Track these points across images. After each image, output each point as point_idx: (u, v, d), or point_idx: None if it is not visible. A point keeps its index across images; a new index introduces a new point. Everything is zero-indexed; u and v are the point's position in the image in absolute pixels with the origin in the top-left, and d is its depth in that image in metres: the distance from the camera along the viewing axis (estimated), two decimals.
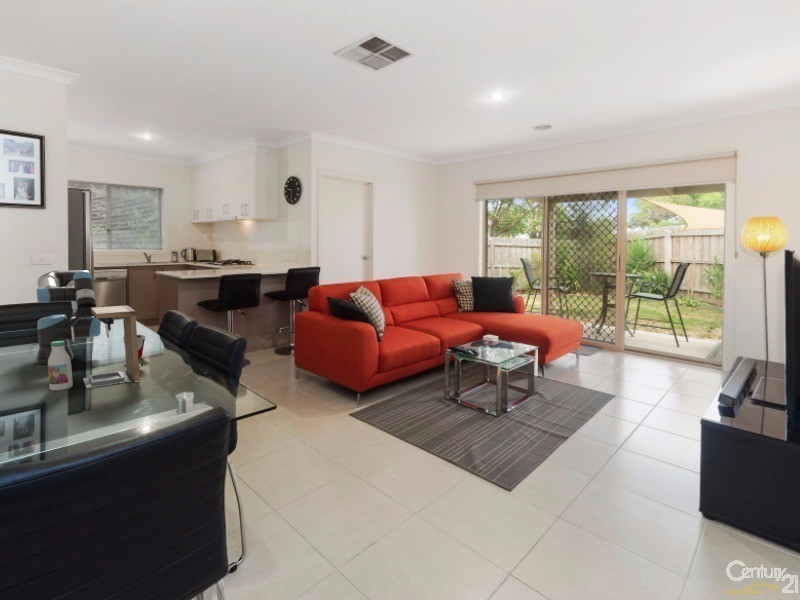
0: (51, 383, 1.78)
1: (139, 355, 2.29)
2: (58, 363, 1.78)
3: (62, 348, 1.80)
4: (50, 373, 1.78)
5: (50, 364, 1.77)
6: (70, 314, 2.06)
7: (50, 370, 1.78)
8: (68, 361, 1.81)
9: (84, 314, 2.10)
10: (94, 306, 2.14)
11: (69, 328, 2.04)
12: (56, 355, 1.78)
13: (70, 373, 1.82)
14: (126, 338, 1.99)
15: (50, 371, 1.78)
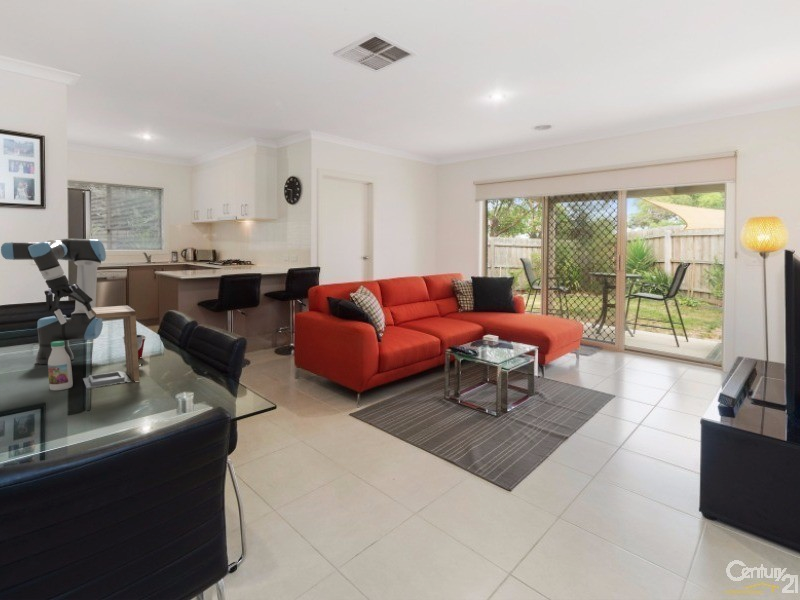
0: (51, 383, 1.78)
1: (139, 355, 2.29)
2: (58, 363, 1.78)
3: (62, 348, 1.80)
4: (50, 373, 1.78)
5: (50, 364, 1.77)
6: (47, 298, 1.91)
7: (50, 370, 1.78)
8: (68, 361, 1.81)
9: (59, 296, 1.91)
10: (64, 286, 1.89)
11: None
12: (56, 355, 1.78)
13: (70, 373, 1.82)
14: (126, 338, 1.99)
15: (50, 371, 1.78)
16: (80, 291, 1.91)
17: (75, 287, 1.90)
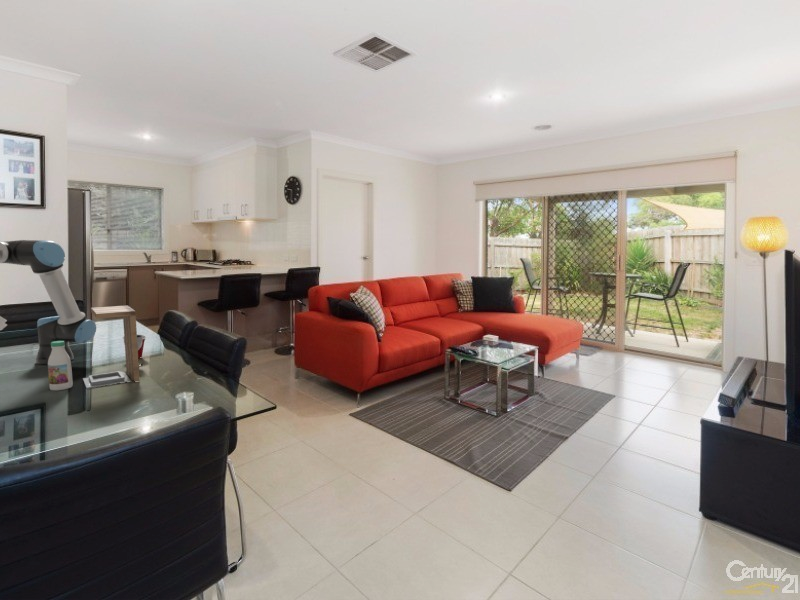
0: (51, 383, 1.78)
1: (139, 355, 2.29)
2: (58, 363, 1.78)
3: (62, 348, 1.80)
4: (50, 373, 1.78)
5: (50, 364, 1.77)
6: None
7: (50, 370, 1.78)
8: (68, 361, 1.81)
9: None
10: None
11: None
12: (56, 355, 1.78)
13: (70, 373, 1.82)
14: (126, 338, 1.99)
15: (50, 371, 1.78)
16: None
17: None
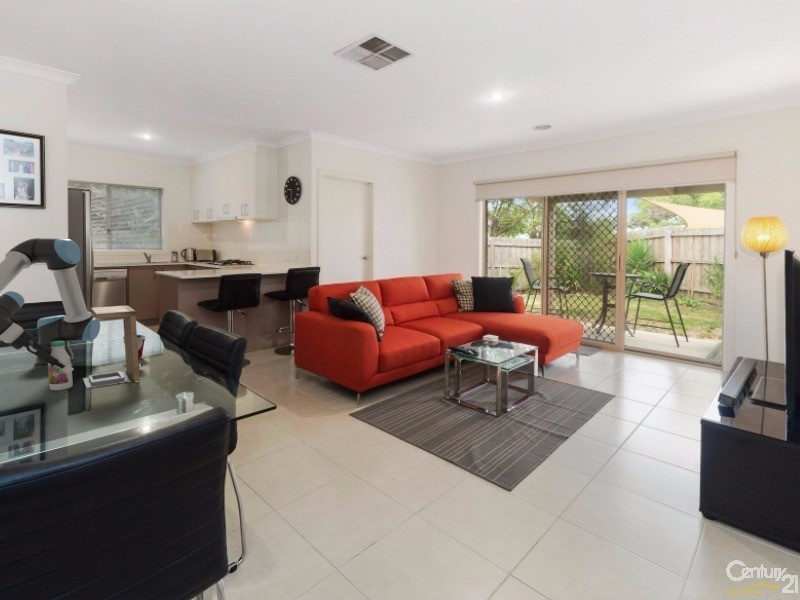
0: (51, 383, 1.78)
1: (139, 355, 2.29)
2: None
3: (62, 348, 1.80)
4: (50, 373, 1.78)
5: None
6: None
7: (50, 370, 1.78)
8: (68, 361, 1.81)
9: None
10: None
11: None
12: (56, 355, 1.78)
13: (70, 373, 1.82)
14: (126, 338, 1.99)
15: (50, 371, 1.78)
16: (40, 354, 1.71)
17: (33, 351, 1.70)
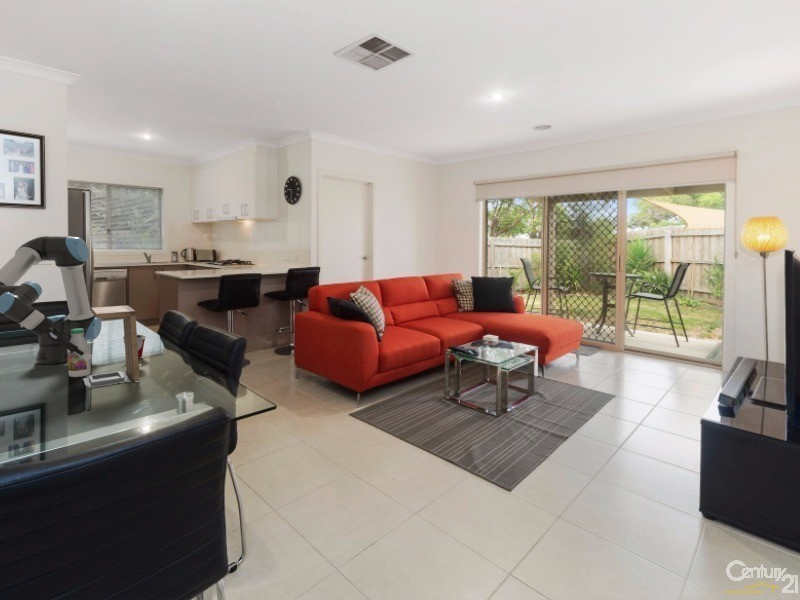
0: (70, 370, 1.81)
1: (139, 355, 2.29)
2: None
3: (81, 335, 1.83)
4: (69, 360, 1.81)
5: (69, 351, 1.80)
6: None
7: (69, 357, 1.81)
8: (87, 348, 1.84)
9: None
10: (46, 333, 1.74)
11: None
12: (75, 342, 1.81)
13: (89, 360, 1.85)
14: (126, 338, 1.99)
15: (69, 358, 1.81)
16: (61, 341, 1.75)
17: (54, 338, 1.73)
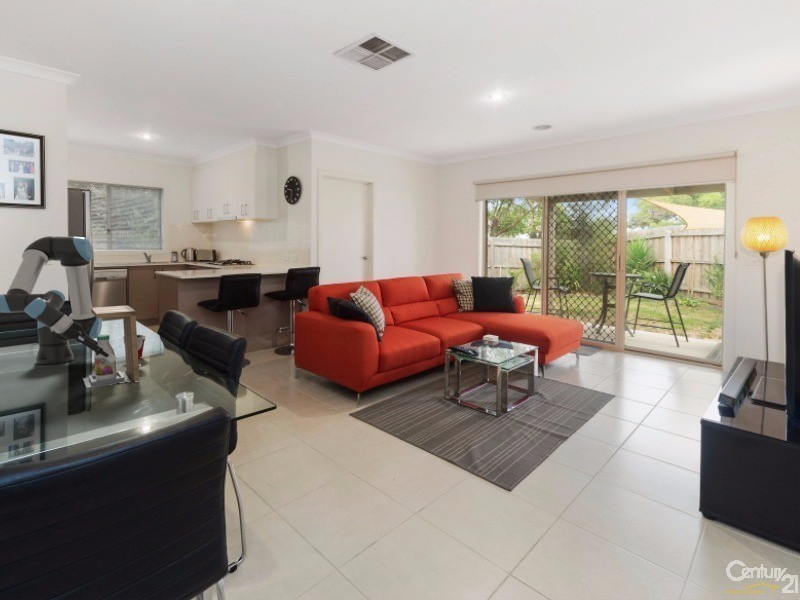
0: (97, 374, 1.89)
1: (139, 355, 2.29)
2: None
3: (107, 341, 1.90)
4: (96, 365, 1.88)
5: (96, 356, 1.88)
6: None
7: (96, 362, 1.88)
8: (113, 354, 1.91)
9: None
10: (75, 337, 1.81)
11: None
12: (102, 348, 1.88)
13: (114, 365, 1.92)
14: (126, 338, 1.99)
15: (96, 363, 1.88)
16: (87, 343, 1.80)
17: (81, 340, 1.79)
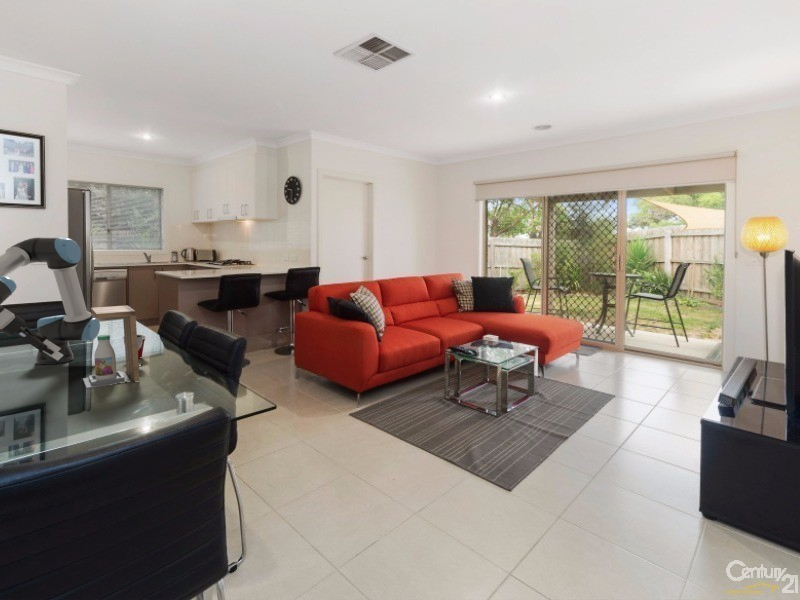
0: (98, 375, 1.89)
1: (139, 355, 2.29)
2: (104, 355, 1.88)
3: (108, 342, 1.90)
4: (97, 365, 1.88)
5: (97, 357, 1.88)
6: None
7: (97, 362, 1.88)
8: (113, 354, 1.91)
9: None
10: None
11: (43, 343, 1.82)
12: (102, 348, 1.88)
13: (115, 365, 1.92)
14: (126, 338, 1.99)
15: (97, 363, 1.88)
16: (29, 339, 1.67)
17: (22, 336, 1.66)
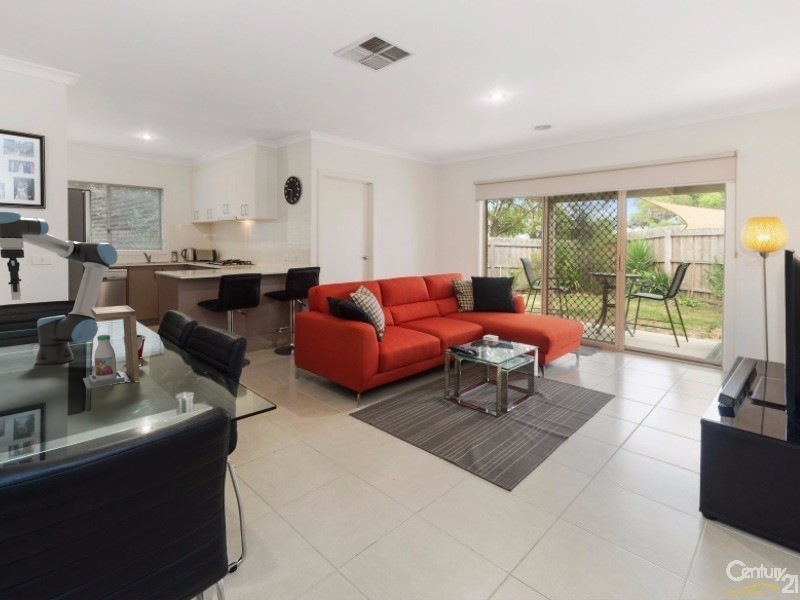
0: (98, 375, 1.89)
1: (139, 355, 2.29)
2: (104, 355, 1.88)
3: (108, 342, 1.90)
4: (97, 365, 1.88)
5: (97, 357, 1.88)
6: None
7: (97, 362, 1.88)
8: (113, 354, 1.91)
9: None
10: (9, 259, 1.82)
11: None
12: (102, 348, 1.88)
13: (115, 365, 1.92)
14: (126, 338, 1.99)
15: (97, 363, 1.88)
16: (13, 269, 1.80)
17: (11, 263, 1.80)
